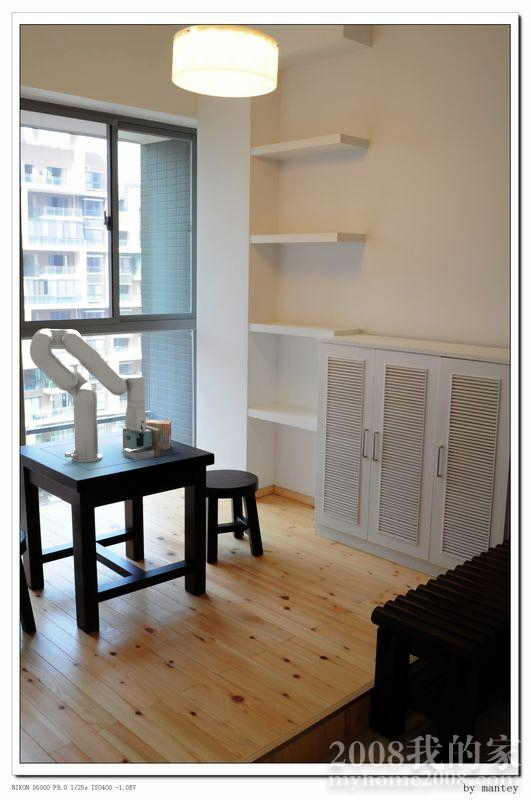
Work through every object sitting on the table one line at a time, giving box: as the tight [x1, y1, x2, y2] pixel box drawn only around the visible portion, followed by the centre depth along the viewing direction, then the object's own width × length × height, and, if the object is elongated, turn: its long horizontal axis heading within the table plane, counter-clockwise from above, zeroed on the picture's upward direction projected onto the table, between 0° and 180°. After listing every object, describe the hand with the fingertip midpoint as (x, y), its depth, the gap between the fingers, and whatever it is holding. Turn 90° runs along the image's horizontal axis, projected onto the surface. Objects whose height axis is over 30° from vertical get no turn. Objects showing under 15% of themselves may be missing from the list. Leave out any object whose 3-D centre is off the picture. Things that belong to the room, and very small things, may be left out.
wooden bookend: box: [122, 425, 161, 461], centre depth 327 cm, size 12×12×12 cm
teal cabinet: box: [125, 429, 152, 450], centre depth 325 cm, size 11×5×7 cm, turn 131°
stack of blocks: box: [122, 419, 172, 450], centre depth 341 cm, size 21×6×12 cm, turn 87°
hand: (136, 444), depth 325 cm, fingers closed on teal cabinet, 5 cm apart
